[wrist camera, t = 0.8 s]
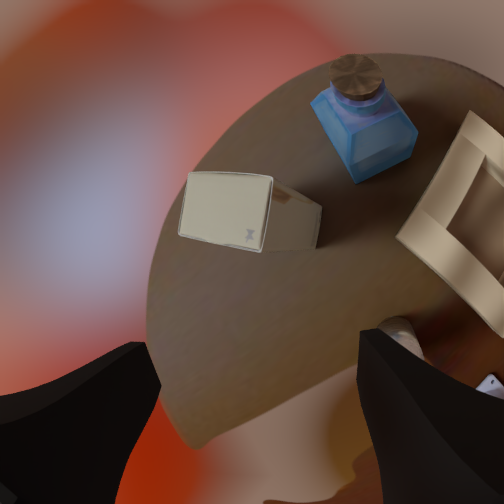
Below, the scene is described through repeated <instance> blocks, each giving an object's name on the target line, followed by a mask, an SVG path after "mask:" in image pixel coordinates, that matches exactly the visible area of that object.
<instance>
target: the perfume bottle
mask: <svg viewBox="0 0 504 504" xmlns="http://www.w3.org/2000/svg"><path fill="white" fill-rule="evenodd" d="M329 78H330V80H331V81H330V84H331V87H330V88H328V89H326V90H324V91H322V92H321V93H320V94H319V95H318V96H317V97H316V98H315V99H314V100H313V101H312V102H311V103H310V104H311V106H312V108H313V110H314V112H315V113H316V115H317V117H318V119H319V121H320V123H321V125H322V126H323V128H324V130H325V132H326V134H327V135H328V137H329V139H330V140H331V142H332V144H333V145H334V147H335V149H336V150H337V152H338V154H339V155H340V157H341V159H342V161H343V162H344V164H345V166H346V168H347V170H348V171H349V173H350V175H351V177H352V179H353V181H354V182H355V184H358V183H360V182H362V181H364V180H366V179H368V178H370V177H372V176H374V175H376V174H378V173H380V172H382V171H384V170H386V169H388V168H390V167H392V166H394V165H396V164H398V163H400V162H402V161H404V160H406V159H408V158H410V157H411V154H412V151H413V148H414V145H415V142H416V139H417V136H418V131H417V129H416V128H415V126H414V125H413V123H412V122H411V120H410V119H409V117H408V116H407V114H406V113H405V112H404V110H403V109H402V107H401V106H400V105H399V103H398V102H397V101H396V99H395V98H394V97H393V95H392V94H391V93H390V92H389V90H388V89H387V88H386V87H385V83H384V79H383V78H382V71H381V69H380V67H379V65H378V64H377V63H376V62H375V61H374V60H372V59H371V58H369V57H367V56H364V55H360V54H347V55H344V56H341V57H339V58H337V59H336V60H334V62H333V63H332V64H331V66H330V69H329Z"/></svg>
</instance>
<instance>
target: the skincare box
mask: <svg viewBox="0 0 504 504" xmlns="http://www.w3.org/2000/svg"><path fill="white" fill-rule="evenodd" d="M321 215H322V206H320V205H319V204H317V203H316V202H314V201H312V200H310V199H309V198H307V197H306V196H304V195H302V194H300V193H299V192H297V191H295V190H294V189H292V188H290V187H288V186H287V185H285V184H283V183H282V182H280V181H278V180H277V179H275V178H274V177H271V176H266V175H259V174H251V173H238V172H189V174H188V179H187V184H186V189H185V194H184V198H183V204H182V210H181V215H180V221H179V227H178V234H179V235H180V236H183V237H188V238H192V239H197V240H201V241H206V242H210V243H215V244H220V245H225V246H229V247H234V248H239V249H244V250H249V251H254V252H258V253H265V252H283V251H299V250H314V249H315V248H316V243H317V238H318V233H319V228H320V222H321Z"/></svg>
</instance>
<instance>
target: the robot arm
mask: <svg viewBox="0 0 504 504" xmlns="http://www.w3.org/2000/svg"><path fill="white" fill-rule="evenodd" d="M356 380H357V386H358V391H359V397H360V402H361V407H362V409H363V413H364V416H365V419H366V422H367V426H368V429H369V432H370V436H371V439H372V442H373V446H374V449H375V452H376V456H377V460H378V464H379V469H380V476H381V484H382V492H383V504H504V386H503V385H502V384H501V383H500V382H499V381H498V380H497V378H496V377H495V376H494V375H493V374H490V375H488V376H487V377H486V379H485V380H484V381H483V382H482V383H481V384H480V385H479V386H478V387H477V388H476V389H474V388H472V387H470V386H468V385H466V384H463V383H461V382H459V381H457V380H455V379H453V378H452V377H450V376H448V375H446V374H444V373H443V372H441V371H439V370H438V369H436V368H434V367H433V366H431V365H430V364H428V363H427V362H425V361H424V360H422V359H421V358H419V357H418V356H416V355H415V354H413V353H412V352H411V351H409V350H408V349H406V348H405V347H404V346H402V345H401V344H400V343H398V342H397V341H395V340H394V339H393V338H391V337H390V336H389V335H387V334H386V333H385V332H383V331H382V330H380V329H379V328H376V329H370V330H363V331H360V340H359V355H358V368H357V379H356ZM492 380H493V382H491V381H492ZM161 386H162V385H161V383H160V380H159V378H158V375H157V373H156V370H155V368H154V365H153V363H152V360H151V358H150V355H149V352H148V349H147V347H146V344H145V342H129V343H126V344H124V345H122V346H120V347H118V348H116V349H114V350H112V351H110V352H108V353H106V354H105V355H103V356H101V357H99V358H97V359H95V360H94V361H92V362H90V363H88V364H86V365H84V366H82V367H80V368H78V369H76V370H74V371H72V372H70V373H68V374H66V375H64V376H62V377H60V378H58V379H56V380H53V381H51V382H49V383H46V384H43V385H40V386H38V387H35V388H32V389H29V390H25V391H21V392H17V393H13V394H8V395H3V396H0V504H115V499H116V495H117V492H118V488H119V485H120V481H121V478H122V475H123V472H124V469H125V466H126V463H127V461H128V459H129V456H130V454H131V452H132V450H133V448H134V446H135V444H136V442H137V440H138V438H139V436H140V435H141V433H142V431H143V429H144V427H145V425H146V423H147V421H148V419H149V417H150V415H151V413H152V411H153V409H154V407H155V404H156V401H157V399H158V396H159V392H160V389H161Z"/></svg>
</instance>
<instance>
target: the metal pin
mask: <svg viewBox="0 0 504 504" xmlns="http://www.w3.org/2000/svg"><path fill="white" fill-rule="evenodd" d="M377 328H379V329H380V330H382V331H383V332H385V333H386V334H387V335H389V336H390V337H391V338H393V339H394V340H395V341H397V342H398V343H400V344H401V345H402V346H404V347H405V348H406V349H408V350H409V351H411V352H412V353H413V354H415V355H416V356H418V357H419V358H421V359H422V360H424V356H423V353H422V350H421V348H420V345H419V342H418V340H417V337H416V335H415V332H414V330H413V327H412V325H411V324H410V322H409V321H408V320H406V319H405V318H402V317H399V316H393V317H389V318H387V319H385V320H383V321H382V322H381V323H380V324H379V325H378V326H377Z"/></svg>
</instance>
